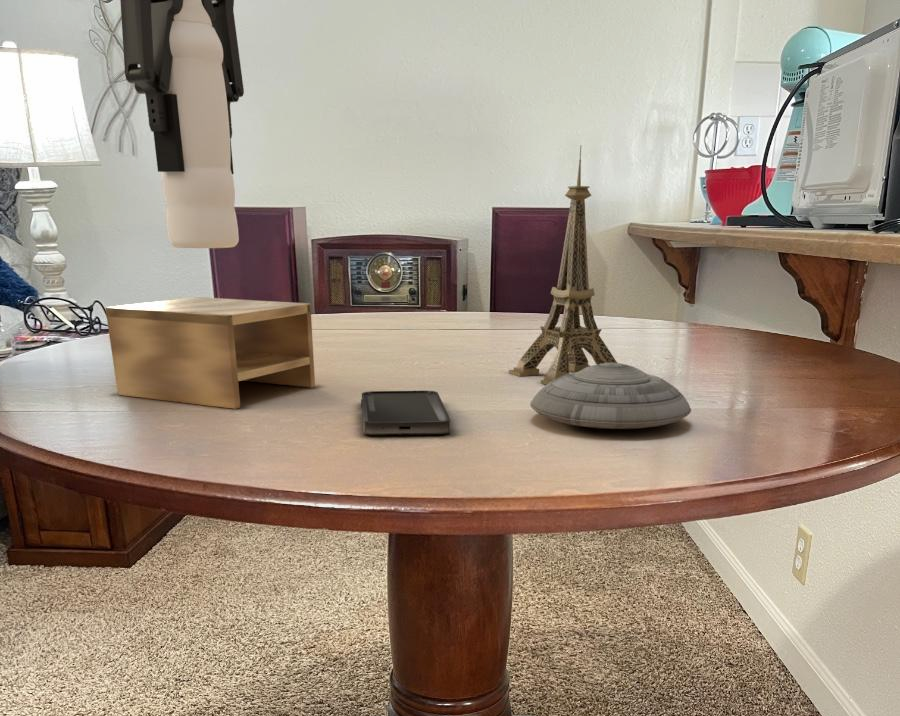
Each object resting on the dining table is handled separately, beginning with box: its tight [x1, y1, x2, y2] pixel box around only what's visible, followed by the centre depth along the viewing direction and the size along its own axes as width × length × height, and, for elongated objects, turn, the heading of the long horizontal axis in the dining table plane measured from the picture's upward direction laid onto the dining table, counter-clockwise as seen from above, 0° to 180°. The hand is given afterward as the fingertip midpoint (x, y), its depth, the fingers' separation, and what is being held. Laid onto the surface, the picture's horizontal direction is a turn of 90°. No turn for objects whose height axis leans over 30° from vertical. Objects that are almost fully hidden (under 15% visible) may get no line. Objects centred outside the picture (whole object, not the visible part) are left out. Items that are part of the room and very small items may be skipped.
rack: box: [105, 296, 316, 410], centre depth 96 cm, size 16×14×9 cm
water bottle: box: [161, 0, 240, 249], centre depth 87 cm, size 7×7×25 cm
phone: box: [360, 390, 451, 436], centre depth 85 cm, size 8×1×15 cm
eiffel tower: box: [508, 144, 618, 385], centre depth 102 cm, size 11×11×25 cm
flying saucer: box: [529, 362, 692, 430], centre depth 83 cm, size 15×15×6 cm
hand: (196, 172), depth 89 cm, fingers closed on water bottle, 7 cm apart
